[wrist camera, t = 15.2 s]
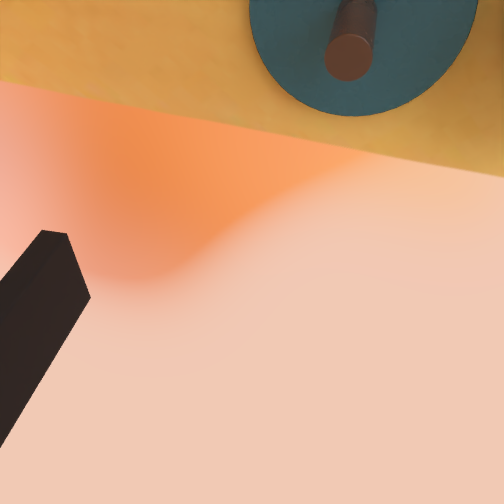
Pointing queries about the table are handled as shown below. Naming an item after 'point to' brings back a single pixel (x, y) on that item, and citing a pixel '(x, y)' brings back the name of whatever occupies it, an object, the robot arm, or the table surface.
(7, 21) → the table surface
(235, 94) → the table surface
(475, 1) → the lid
